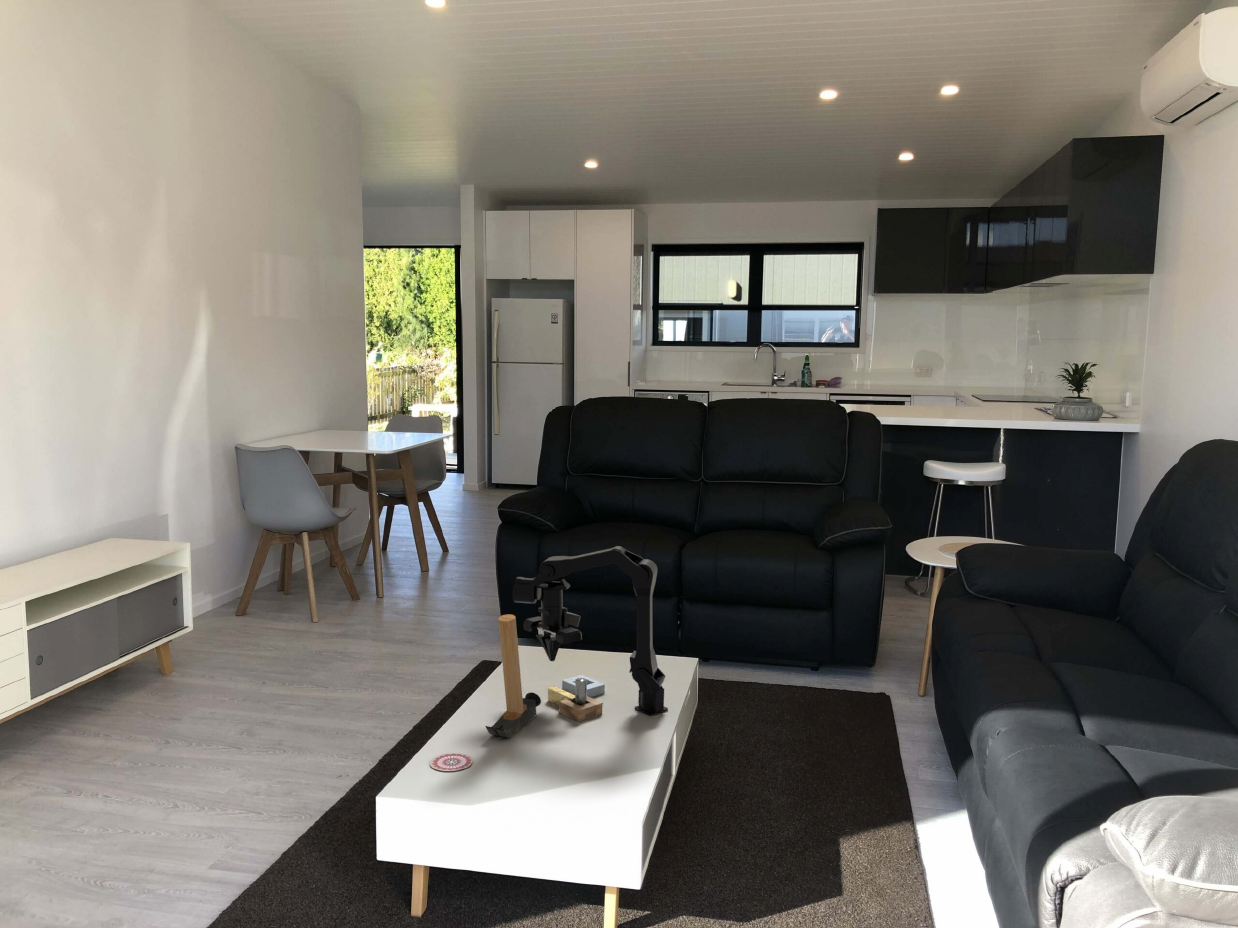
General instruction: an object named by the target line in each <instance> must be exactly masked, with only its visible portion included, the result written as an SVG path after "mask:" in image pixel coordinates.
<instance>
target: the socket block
mask: <svg viewBox="0 0 1238 928" xmlns="http://www.w3.org/2000/svg"><path fill="white" fill-rule="evenodd" d="M558 713H560V714H562V715H564V716H566V717H568V718H569V719H572V720H575V721H576V722H578V723H580V722H582V721H585V720H588V719H592V718H595V717H597V716H600V715H603V702H601V701H600V700H597V699H595V698H593V697H588V696H587V704H585V705H581V706H579V705H577V704H574V703H572V701H570V700H568V699H565V700H562V701H559V705H558Z"/></svg>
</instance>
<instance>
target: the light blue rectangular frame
mask: <svg viewBox="0 0 1238 928" xmlns="http://www.w3.org/2000/svg"><path fill="white" fill-rule="evenodd" d="M577 678H585V679H587V696H588V697H590V698H593V697H595V696H597V697H598V696H600V695H604V694H605V692H606V691H605V688H606V687H605V683H602V682H601V681H597V680H595V679H593V678H590V677H587V676H585V675H582V674H579V675H575V676H572V677H568V678H565V679H562V683H561V686H562V687H561V689H562V690H564V691H566V692H569V693H571V694H573V695H575V680H576V679H577Z"/></svg>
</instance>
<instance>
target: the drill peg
mask: <svg viewBox="0 0 1238 928" xmlns="http://www.w3.org/2000/svg"><path fill="white" fill-rule="evenodd" d="M574 695H575V704H577V705H579V706H581V705H585V704H587V679H585V678H577V679H576V680H575V694H574Z"/></svg>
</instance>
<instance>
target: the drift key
mask: <svg viewBox="0 0 1238 928" xmlns="http://www.w3.org/2000/svg"><path fill="white" fill-rule="evenodd" d="M565 699H568V700H570V701H572V703H574V704H575V694H573V693H571V692H568V691H566V690H564V689H562V688H559V687H557V686H552V687H550V686H549V687H548V689H547V701H548V702H550V703H552V704H555V705H556V706H559V701H562V700H565Z"/></svg>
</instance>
